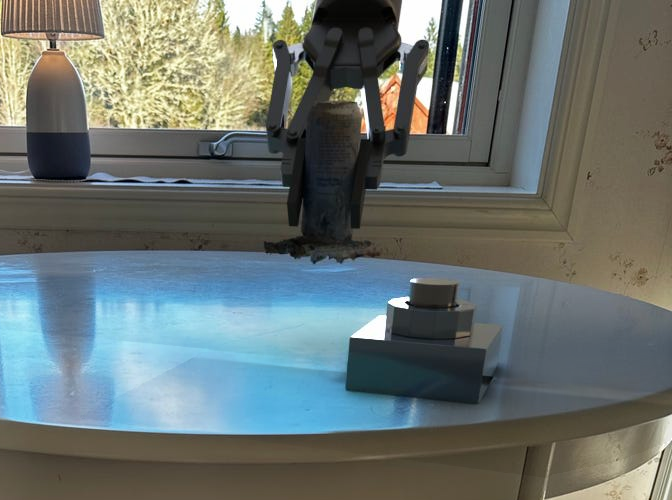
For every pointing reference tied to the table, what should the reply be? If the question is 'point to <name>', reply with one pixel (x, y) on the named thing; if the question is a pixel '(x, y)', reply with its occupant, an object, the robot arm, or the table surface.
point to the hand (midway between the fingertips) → (323, 215)
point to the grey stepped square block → (424, 353)
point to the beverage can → (328, 187)
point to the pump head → (433, 293)
